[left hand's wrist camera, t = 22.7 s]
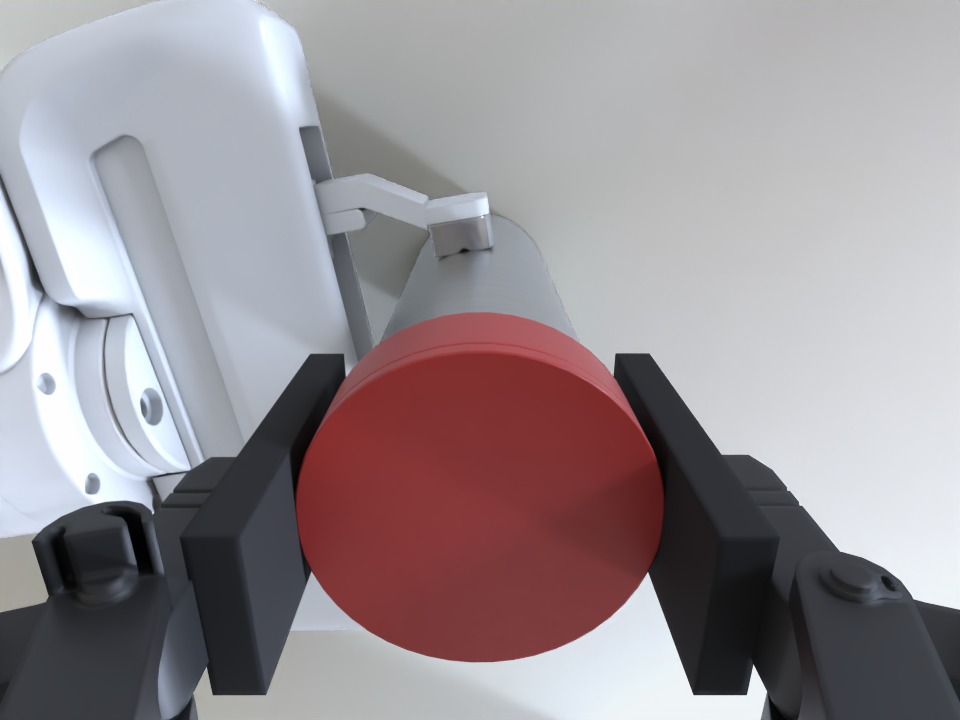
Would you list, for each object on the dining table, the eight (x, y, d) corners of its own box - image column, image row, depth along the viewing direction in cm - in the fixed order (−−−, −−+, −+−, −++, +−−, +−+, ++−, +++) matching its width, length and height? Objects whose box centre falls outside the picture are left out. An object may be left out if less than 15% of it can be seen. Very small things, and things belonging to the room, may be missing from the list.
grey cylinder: (463, 185, 25) (440, 287, 10) (570, 263, 26) (691, 459, 11) (390, 293, 26) (275, 519, 11) (494, 362, 27) (510, 648, 13)
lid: (494, 239, 11) (497, 265, 9) (699, 471, 12) (738, 535, 10) (257, 450, 12) (216, 512, 10) (469, 631, 14) (467, 713, 12)
